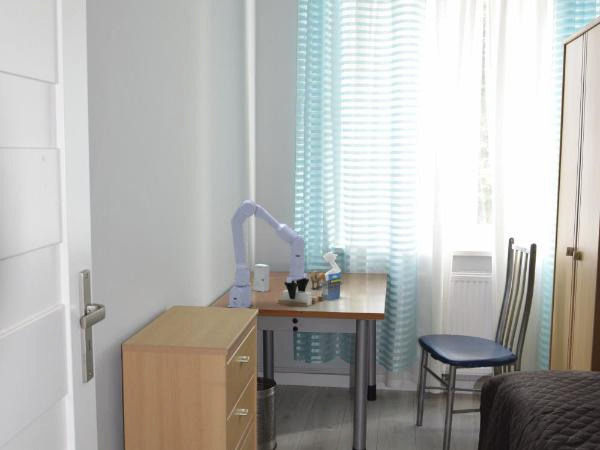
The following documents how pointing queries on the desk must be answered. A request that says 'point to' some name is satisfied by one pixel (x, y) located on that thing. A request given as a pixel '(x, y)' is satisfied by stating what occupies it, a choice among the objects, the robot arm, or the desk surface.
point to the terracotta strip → (315, 298)
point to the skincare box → (261, 277)
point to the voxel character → (330, 258)
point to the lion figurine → (317, 278)
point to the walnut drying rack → (300, 304)
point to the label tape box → (331, 287)
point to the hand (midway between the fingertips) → (296, 297)
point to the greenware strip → (299, 297)
